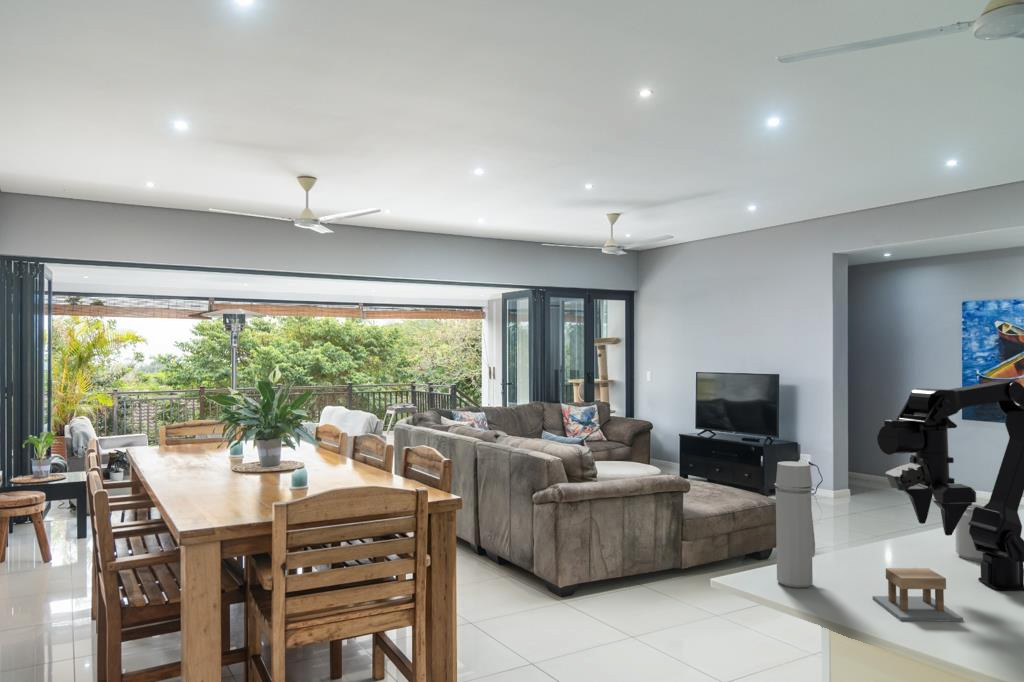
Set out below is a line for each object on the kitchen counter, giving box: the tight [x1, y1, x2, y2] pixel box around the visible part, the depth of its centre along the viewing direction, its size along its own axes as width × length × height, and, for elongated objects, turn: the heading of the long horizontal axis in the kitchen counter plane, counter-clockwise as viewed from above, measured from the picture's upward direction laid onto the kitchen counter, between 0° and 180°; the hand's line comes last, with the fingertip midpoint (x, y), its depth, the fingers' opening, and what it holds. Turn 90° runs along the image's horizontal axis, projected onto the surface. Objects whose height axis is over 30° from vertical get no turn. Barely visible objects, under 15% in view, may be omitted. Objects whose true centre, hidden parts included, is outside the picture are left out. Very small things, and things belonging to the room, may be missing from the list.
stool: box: [885, 567, 947, 612], centre depth 133 cm, size 6×8×6 cm
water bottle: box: [773, 460, 816, 589], centre depth 149 cm, size 9×8×25 cm
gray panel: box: [872, 595, 964, 622], centre depth 133 cm, size 11×11×1 cm
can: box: [954, 503, 985, 562], centre depth 166 cm, size 8×8×12 cm
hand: (934, 529), depth 143 cm, fingers open, 9 cm apart
